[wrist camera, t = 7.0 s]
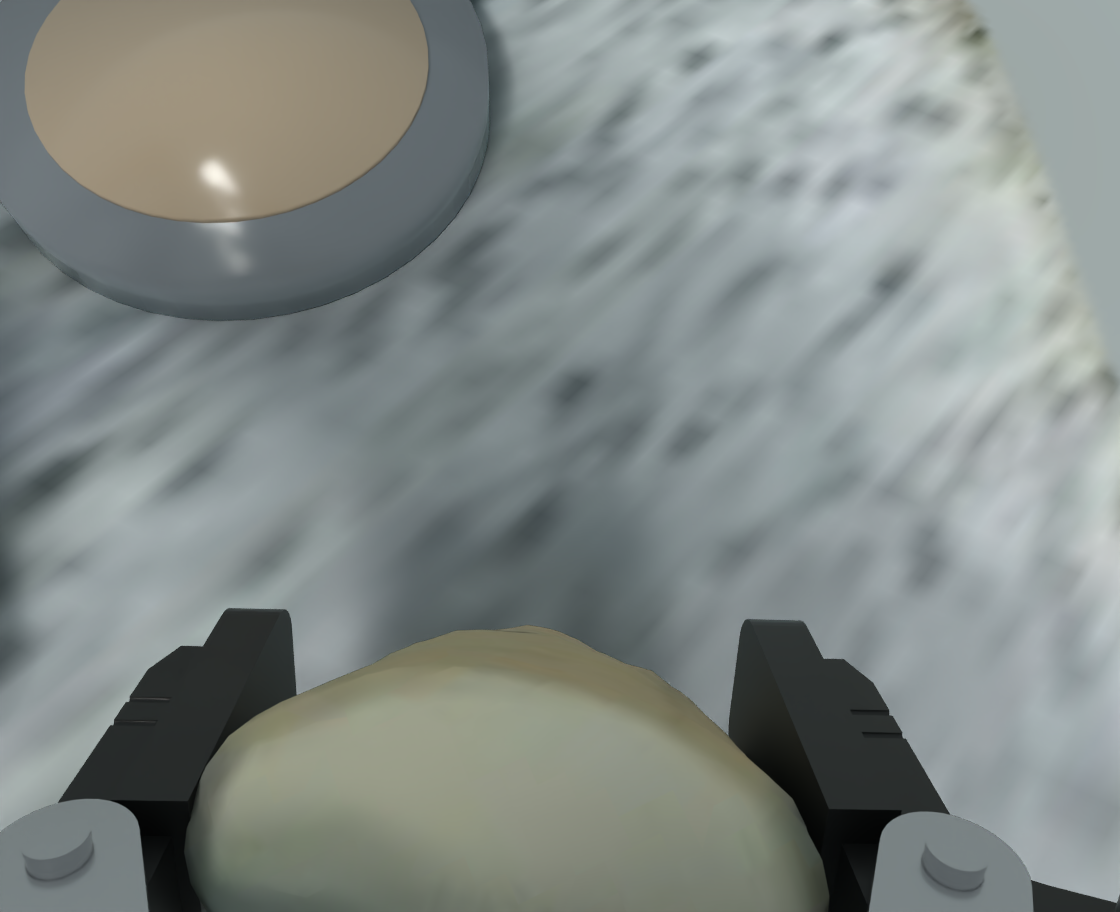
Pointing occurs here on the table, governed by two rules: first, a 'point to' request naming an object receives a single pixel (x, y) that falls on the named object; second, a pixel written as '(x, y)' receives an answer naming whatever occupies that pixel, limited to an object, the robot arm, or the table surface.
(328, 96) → the coaster
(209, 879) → the off-white rounded piece
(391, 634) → the table surface
